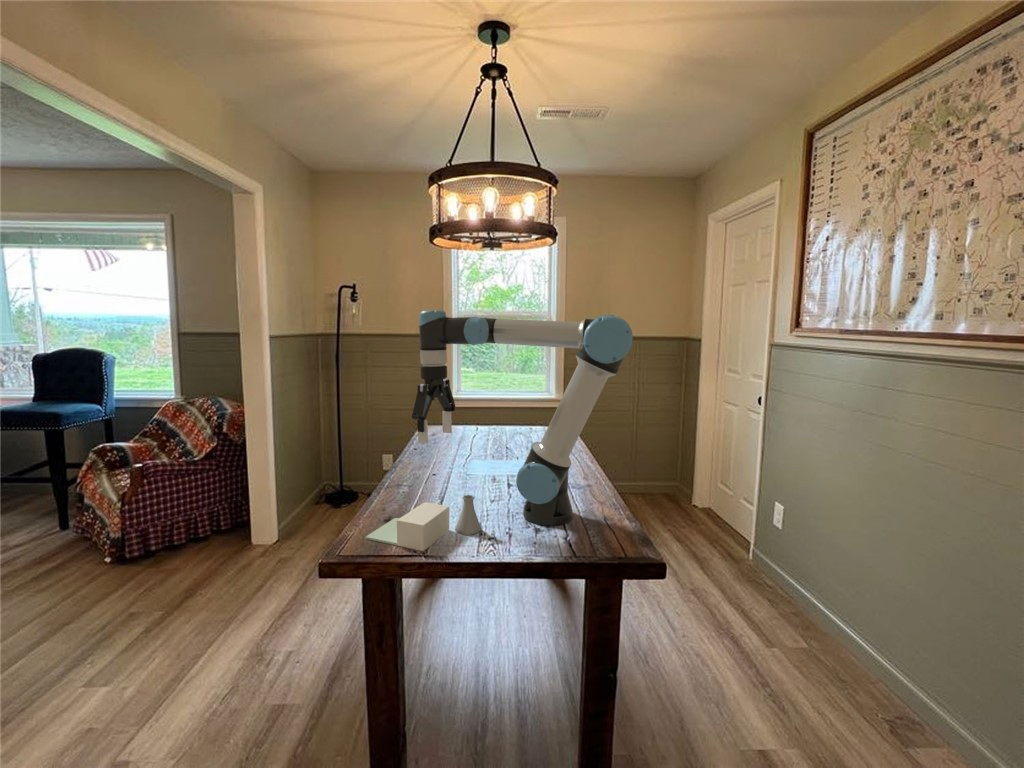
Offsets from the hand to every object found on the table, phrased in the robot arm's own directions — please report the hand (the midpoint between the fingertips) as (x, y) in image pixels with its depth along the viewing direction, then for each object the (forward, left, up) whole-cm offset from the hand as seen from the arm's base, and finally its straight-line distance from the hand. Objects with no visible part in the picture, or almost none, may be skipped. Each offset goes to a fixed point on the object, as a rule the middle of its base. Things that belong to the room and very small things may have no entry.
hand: (435, 437), depth 141 cm
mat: (+6, +11, -25) cm, 28 cm away
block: (-3, +11, -25) cm, 28 cm away
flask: (-12, +2, -25) cm, 28 cm away
